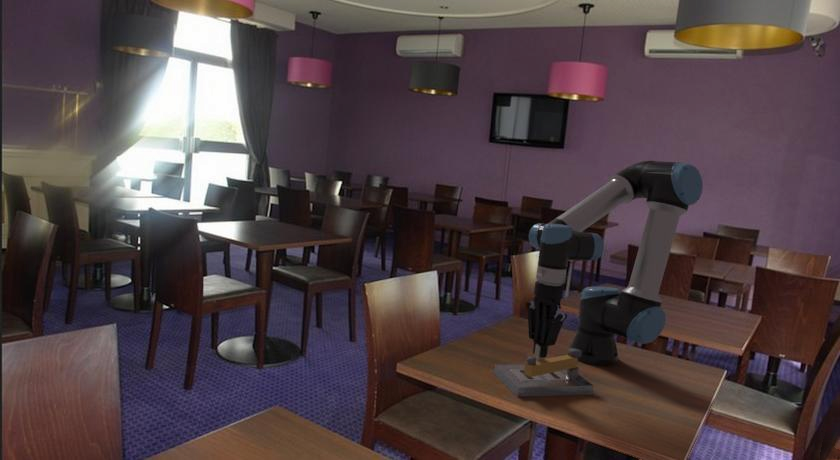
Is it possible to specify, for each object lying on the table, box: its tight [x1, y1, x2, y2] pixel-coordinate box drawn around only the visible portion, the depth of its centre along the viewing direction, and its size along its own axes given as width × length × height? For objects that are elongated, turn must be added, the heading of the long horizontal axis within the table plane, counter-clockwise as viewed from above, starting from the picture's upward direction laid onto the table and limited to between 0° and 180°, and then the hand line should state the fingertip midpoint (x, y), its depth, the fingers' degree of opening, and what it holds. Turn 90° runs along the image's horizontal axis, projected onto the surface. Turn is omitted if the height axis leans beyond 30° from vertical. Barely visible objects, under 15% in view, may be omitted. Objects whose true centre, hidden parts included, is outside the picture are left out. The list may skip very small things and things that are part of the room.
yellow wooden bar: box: [524, 348, 582, 377], centre depth 162 cm, size 20×4×5 cm, turn 125°
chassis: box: [493, 363, 595, 398], centre depth 165 cm, size 22×16×5 cm
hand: (537, 367), depth 162 cm, fingers closed
